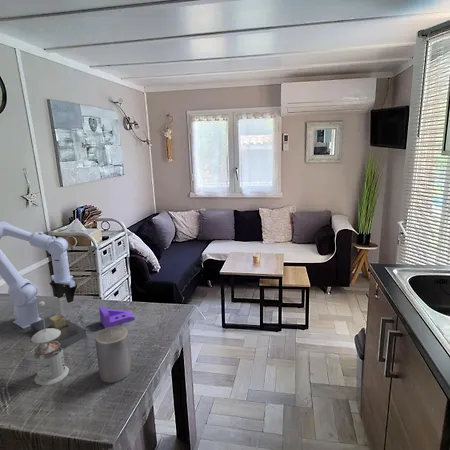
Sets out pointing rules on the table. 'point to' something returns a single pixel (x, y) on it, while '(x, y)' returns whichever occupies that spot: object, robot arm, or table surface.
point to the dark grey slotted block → (62, 331)
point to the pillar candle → (113, 354)
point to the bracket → (114, 317)
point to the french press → (48, 355)
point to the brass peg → (57, 322)
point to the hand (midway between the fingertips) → (65, 299)
